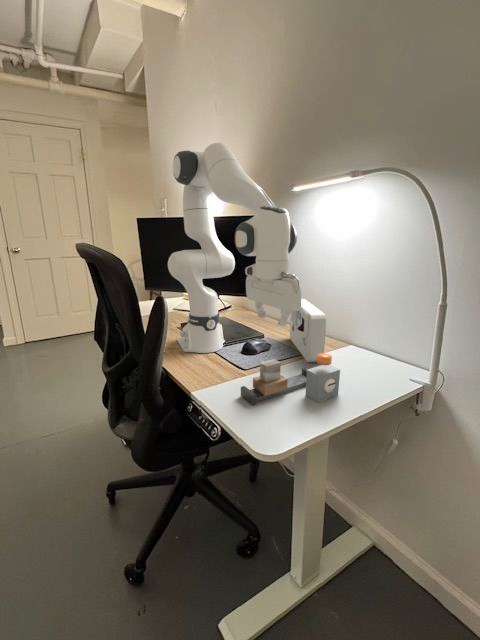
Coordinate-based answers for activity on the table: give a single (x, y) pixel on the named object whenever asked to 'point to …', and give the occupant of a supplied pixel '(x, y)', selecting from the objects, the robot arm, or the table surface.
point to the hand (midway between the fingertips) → (271, 321)
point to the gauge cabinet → (322, 382)
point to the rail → (292, 384)
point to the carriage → (270, 378)
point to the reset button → (324, 359)
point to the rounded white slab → (308, 330)
